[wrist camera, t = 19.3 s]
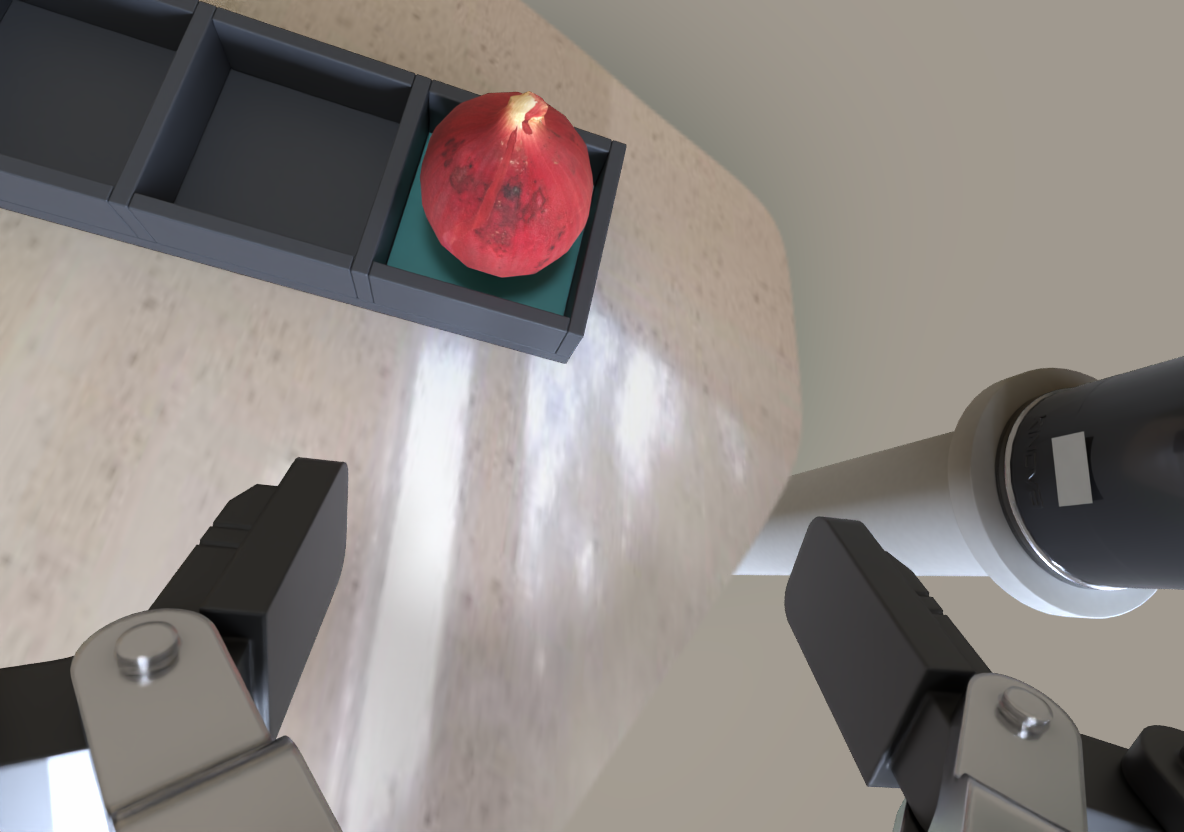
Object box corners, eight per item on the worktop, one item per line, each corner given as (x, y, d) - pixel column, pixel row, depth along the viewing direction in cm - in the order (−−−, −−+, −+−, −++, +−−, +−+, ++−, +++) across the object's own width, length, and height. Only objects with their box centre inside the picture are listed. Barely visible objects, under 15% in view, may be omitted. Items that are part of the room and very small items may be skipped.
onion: (553, 325, 26) (602, 225, 19) (405, 285, 26) (393, 163, 18) (582, 196, 28) (638, 56, 20) (443, 153, 27) (447, -10, 19)
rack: (606, 189, 29) (627, 144, 26) (566, 364, 27) (583, 337, 24) (15, -2, 26) (-43, -82, 22) (-87, 184, 23) (-167, 124, 20)
